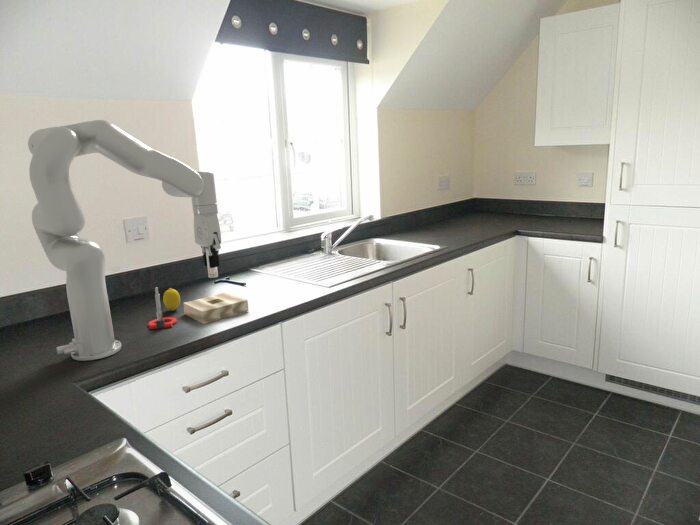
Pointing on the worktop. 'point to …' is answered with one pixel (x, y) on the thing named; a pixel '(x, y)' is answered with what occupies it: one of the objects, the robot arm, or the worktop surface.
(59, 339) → the worktop surface
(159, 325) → the red grey post stand
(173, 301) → the lemon
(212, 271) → the peg
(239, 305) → the hole block
